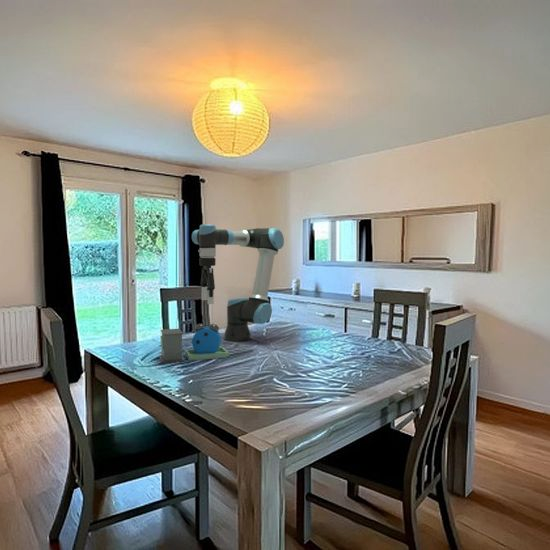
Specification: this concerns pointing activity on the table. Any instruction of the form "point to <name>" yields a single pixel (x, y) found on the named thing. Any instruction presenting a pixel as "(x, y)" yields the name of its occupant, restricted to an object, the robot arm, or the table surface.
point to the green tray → (194, 355)
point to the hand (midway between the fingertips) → (207, 302)
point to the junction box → (171, 346)
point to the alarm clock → (206, 339)
